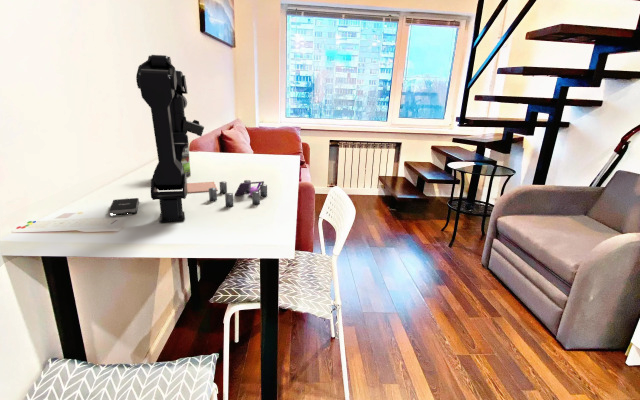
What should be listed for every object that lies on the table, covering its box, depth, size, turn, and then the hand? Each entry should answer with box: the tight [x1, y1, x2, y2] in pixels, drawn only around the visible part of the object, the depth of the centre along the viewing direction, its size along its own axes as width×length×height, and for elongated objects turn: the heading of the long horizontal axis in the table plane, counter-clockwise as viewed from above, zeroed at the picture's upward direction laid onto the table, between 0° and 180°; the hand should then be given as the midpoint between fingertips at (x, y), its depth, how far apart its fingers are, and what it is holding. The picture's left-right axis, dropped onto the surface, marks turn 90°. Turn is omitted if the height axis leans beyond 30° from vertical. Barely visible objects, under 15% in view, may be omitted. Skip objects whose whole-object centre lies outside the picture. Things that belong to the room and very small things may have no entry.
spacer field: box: [208, 179, 268, 208], centre depth 118 cm, size 17×19×4 cm
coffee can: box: [181, 142, 192, 179], centre depth 140 cm, size 10×10×14 cm
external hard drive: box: [108, 197, 140, 216], centre depth 104 cm, size 7×11×2 cm, turn 23°
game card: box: [234, 180, 265, 197], centre depth 121 cm, size 7×5×9 cm
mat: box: [187, 181, 218, 194], centre depth 128 cm, size 12×10×1 cm
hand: (179, 161), depth 115 cm, fingers open, 9 cm apart
